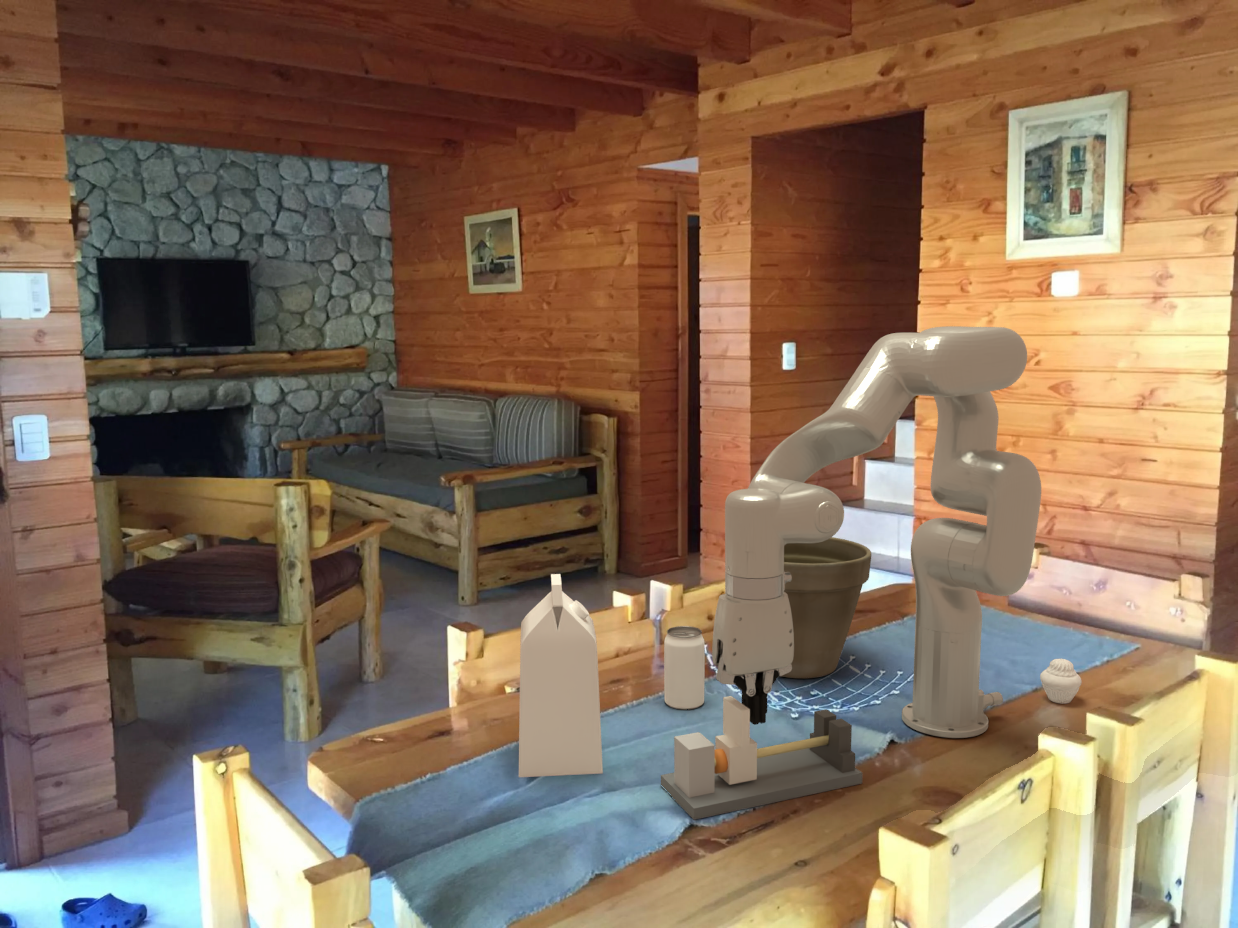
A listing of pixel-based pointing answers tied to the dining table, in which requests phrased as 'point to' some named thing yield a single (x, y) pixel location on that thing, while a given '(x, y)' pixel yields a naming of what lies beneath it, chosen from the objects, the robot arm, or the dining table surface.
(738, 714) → the sleeve
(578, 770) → the milk
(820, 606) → the plant pot
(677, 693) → the can
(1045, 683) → the muffin
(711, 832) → the dining table surface
